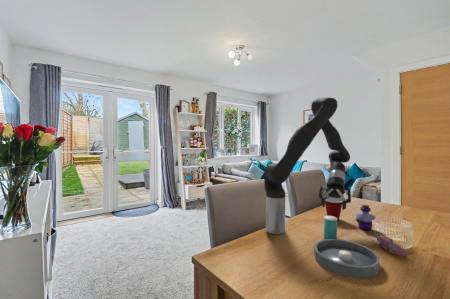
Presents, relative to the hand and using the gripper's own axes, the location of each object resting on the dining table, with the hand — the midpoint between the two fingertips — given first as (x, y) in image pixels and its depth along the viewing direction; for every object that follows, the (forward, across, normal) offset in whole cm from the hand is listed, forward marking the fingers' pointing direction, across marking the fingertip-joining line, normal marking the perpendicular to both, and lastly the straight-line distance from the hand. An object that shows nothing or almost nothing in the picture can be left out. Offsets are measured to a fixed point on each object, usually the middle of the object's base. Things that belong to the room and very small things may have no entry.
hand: (333, 207), depth 107 cm
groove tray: (+26, +7, -9) cm, 29 cm away
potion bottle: (-1, +13, +19) cm, 23 cm away
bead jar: (+15, 0, +3) cm, 15 cm away
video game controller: (+14, +22, +4) cm, 26 cm away
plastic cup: (-6, -2, +24) cm, 25 cm away
